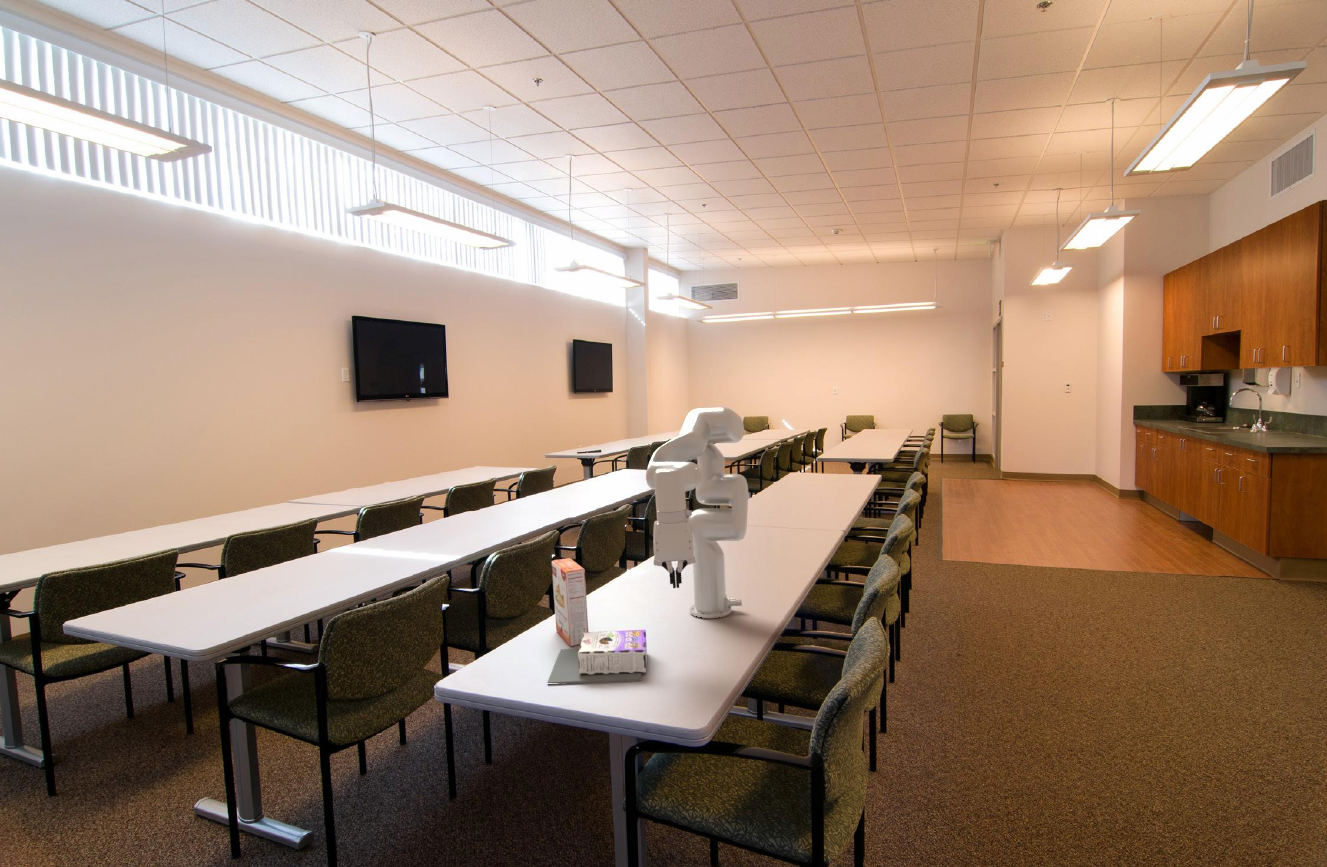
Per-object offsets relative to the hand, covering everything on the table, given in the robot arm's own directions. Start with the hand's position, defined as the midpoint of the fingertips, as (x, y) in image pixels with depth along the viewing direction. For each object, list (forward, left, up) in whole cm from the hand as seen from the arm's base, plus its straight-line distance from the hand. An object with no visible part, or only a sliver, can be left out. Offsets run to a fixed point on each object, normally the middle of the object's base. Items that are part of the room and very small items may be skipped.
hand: (676, 586), depth 171 cm
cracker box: (+30, -15, -18) cm, 38 cm away
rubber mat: (+20, +5, -18) cm, 27 cm away
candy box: (+8, +5, -15) cm, 17 cm away
